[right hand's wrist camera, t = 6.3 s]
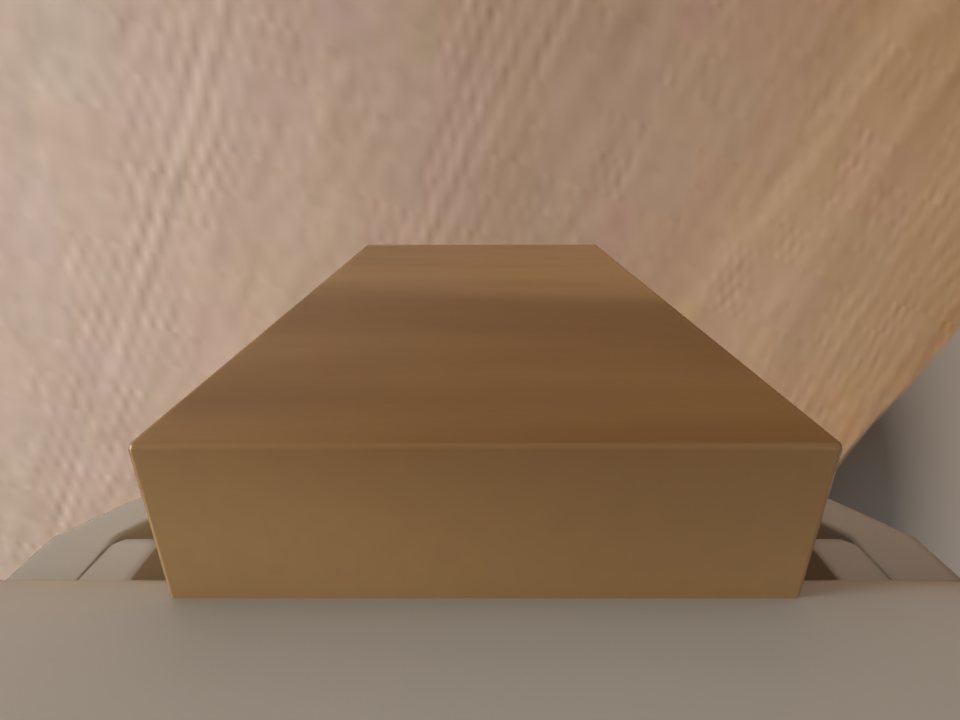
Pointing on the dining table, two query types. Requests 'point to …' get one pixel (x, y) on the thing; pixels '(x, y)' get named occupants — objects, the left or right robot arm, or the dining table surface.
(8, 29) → the dining table surface
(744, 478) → the bar
